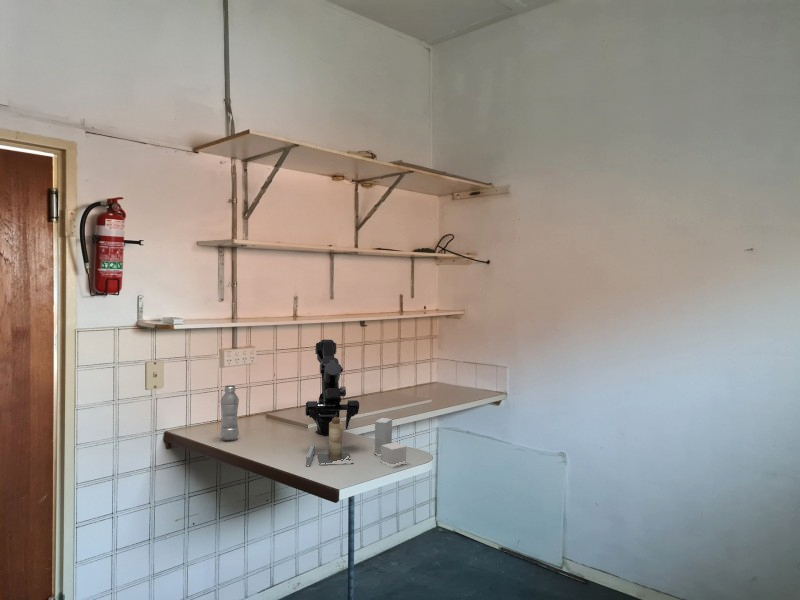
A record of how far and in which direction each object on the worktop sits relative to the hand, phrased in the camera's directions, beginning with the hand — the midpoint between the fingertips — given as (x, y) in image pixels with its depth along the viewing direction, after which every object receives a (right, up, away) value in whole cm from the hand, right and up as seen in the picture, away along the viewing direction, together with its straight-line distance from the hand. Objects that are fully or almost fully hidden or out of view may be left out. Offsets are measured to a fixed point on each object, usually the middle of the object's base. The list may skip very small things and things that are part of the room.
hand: (333, 429), depth 202 cm
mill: (+1, -9, -6) cm, 10 cm away
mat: (+1, -9, -6) cm, 11 cm away
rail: (-7, -9, -6) cm, 13 cm away
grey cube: (+21, -10, -8) cm, 24 cm away
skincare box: (+17, -9, +2) cm, 20 cm away
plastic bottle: (-40, -7, +15) cm, 44 cm away
